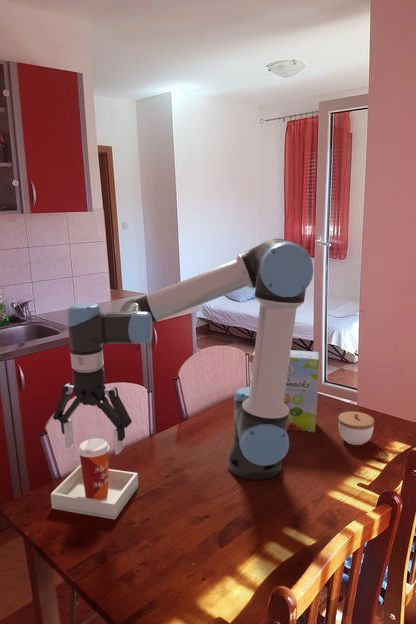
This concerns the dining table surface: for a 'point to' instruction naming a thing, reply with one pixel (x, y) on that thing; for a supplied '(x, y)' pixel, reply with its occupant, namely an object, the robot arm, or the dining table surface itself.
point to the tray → (75, 500)
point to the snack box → (301, 390)
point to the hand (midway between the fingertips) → (94, 448)
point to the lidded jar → (355, 427)
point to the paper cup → (94, 467)
